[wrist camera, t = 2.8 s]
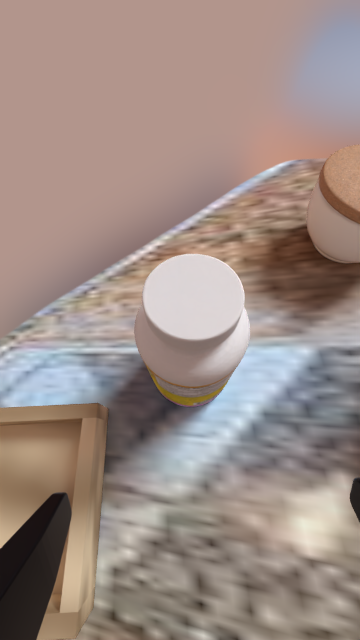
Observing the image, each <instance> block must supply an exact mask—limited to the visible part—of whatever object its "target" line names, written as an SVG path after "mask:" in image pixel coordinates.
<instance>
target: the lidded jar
mask: <svg viewBox="0 0 360 640" xmlns="http://www.w3.org/2000/svg"><path fill="white" fill-rule="evenodd" d="M306 224H307V229H308V233H309V235H310V238H311V239H312V241H313V244H314V246H315V248H316V249H317V251H318V252H319V253H320V254H321V255H323V256H324V257H326V258H328V259H329V260H332V261H335V262H338V263H347V264H348V263H360V145H354V146H349V147H346V148H343V149H341V150H338V151H337V152H335V153H334V154H333V155H331V156H330V157H329V158H328V159H327V160H326V162H325V164H324V165H323V167H322V170H321V172H320V175H319V179H318V181H317V183H316V185H315V187H314V189H313V192H312V195H311V198H310V201H309V204H308V209H307V220H306Z"/></svg>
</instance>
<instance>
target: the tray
mask: <svg viewBox="0 0 360 640" xmlns="http://www.w3.org/2000/svg"><path fill="white" fill-rule="evenodd" d="M108 412H109V409H108V408H106V407H104V406H102V405H100V404H99V403H91V404H70V405H49V406H28V407H8V408H0V548H1V547H2V546H3V545H4V544H5V543H6V542H7V541H8V540H9V539H10V538H11V537H12V536H13V535H14V534H15V532H16V531H17V530H18V529H19V528H20V527H21V526H22V525H23V524H24V523H25V522H26V521H27V520H28V519H29V518H30V517H31V515H32V514H33V513H34V512H35V511H36V510H37V509H38V508H39V507H40V506H41V505H42V504H43V503H44V502H45V501H46V500H47V499H48V497H49V496H50V495H52V494H53V493H57V492H66V493H67V494H68V498H69V502H70V506H71V510H72V516H71V522H70V526H69V530H68V534H67V538H66V542H65V546H64V550H63V554H62V558H61V562H60V566H59V571H58V574H57V578H56V582H55V585H54V588H53V592H52V595H51V598H50V601H49V604H48V607H47V610H46V613H45V616H44V619H43V622H42V625H41V628H40V631H39V634H38V637H37V640H57V639H75V638H76V637H77V635H78V633H79V631H80V630H81V628H82V626H83V625H84V623H85V621H86V619H87V618H88V616H89V614H90V613H91V611H92V609H93V607H94V594H95V581H96V568H97V555H98V542H99V529H100V516H101V503H102V490H103V477H104V464H105V451H106V438H107V425H108Z"/></svg>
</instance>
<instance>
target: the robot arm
mask: <svg viewBox="0 0 360 640" xmlns="http://www.w3.org/2000/svg"><path fill="white" fill-rule="evenodd" d="M350 501H351V505H352V507H353V509H354V511H355V513H356V516H357V518H358V520H359V522H360V478H355V479H354V480H353V484H352V489H351V493H350ZM71 516H72V510H71V506H70V502H69V498H68V494H67V493H66V492H57V493H53V494H52V495H50V496H49V497H48V499H47V500H46V501H45V502H44V503H43V504H42V505H41V506H40V507H39V508H38V509H37V510H36V511H35V512H34V513H33V514H32V515H31V517H30V518H29V519H28V520H27V521H26V522H25V523H24V524H23V525H22V526H21V527H20V528H19V529H18V530H17V531H16V532H15V534H14V535H13V536H12V537H11V538H10V539H9V540H8V541H7V542H6V543H5V544H4V545H3V546H2V547H1V548H0V640H37V637H38V634H39V631H40V628H41V625H42V622H43V619H44V616H45V613H46V610H47V607H48V604H49V601H50V598H51V595H52V592H53V588H54V585H55V582H56V578H57V574H58V571H59V566H60V562H61V558H62V554H63V550H64V546H65V542H66V538H67V534H68V530H69V526H70V522H71Z"/></svg>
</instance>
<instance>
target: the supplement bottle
mask: <svg viewBox="0 0 360 640" xmlns="http://www.w3.org/2000/svg"><path fill="white" fill-rule="evenodd" d="M244 301H245V296H244V289H243V286H242V283H241V281H240V279H239V277H238V276H237V274H236V273H235V272H234V271H233V270H232V269H231V268H230V267H229V266H228V265H227V264H225V263H224V262H222V261H220V260H218V259H216V258H213V257H211V256H207V255H201V254H185V255H179V256H176V257H172V258H170V259H168V260H166V261H164V262H162V263H161V264H160V265H158V266H157V267H156V268H155V269H154V270H153V271H152V272H151V273H150V275H149V276H148V278H147V279H146V281H145V284H144V287H143V291H142V305H141V306H140V308H139V311H138V313H137V316H136V320H135V328H134V334H135V341H136V345H137V348H138V351H139V353H140V355H141V357H142V359H143V361H144V363H145V365H146V367H147V369H148V371H149V373H150V375H151V377H152V379H153V381H154V383H155V385H156V386H157V388H158V390H159V391H160V392H161V394H162V395H163V396H164V397H165V398H167V399H168V400H169V401H171V402H173V403H175V404H177V405H181V406H186V407H196V406H201V405H204V404H206V403H208V402H210V401H212V400H213V399H214V398H216V397H217V396H218V395H219V394H220V392H221V391H222V390H223V388H224V387H225V385H226V384H227V382H228V380H229V379H230V377H231V375H232V374H233V372H234V370H235V369H236V367H237V366H238V364H239V363H240V361H241V359H242V358H243V356H244V354H245V352H246V349H247V347H248V343H249V338H250V324H249V318H248V315H247V312H246V310H245V308H244Z"/></svg>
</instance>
